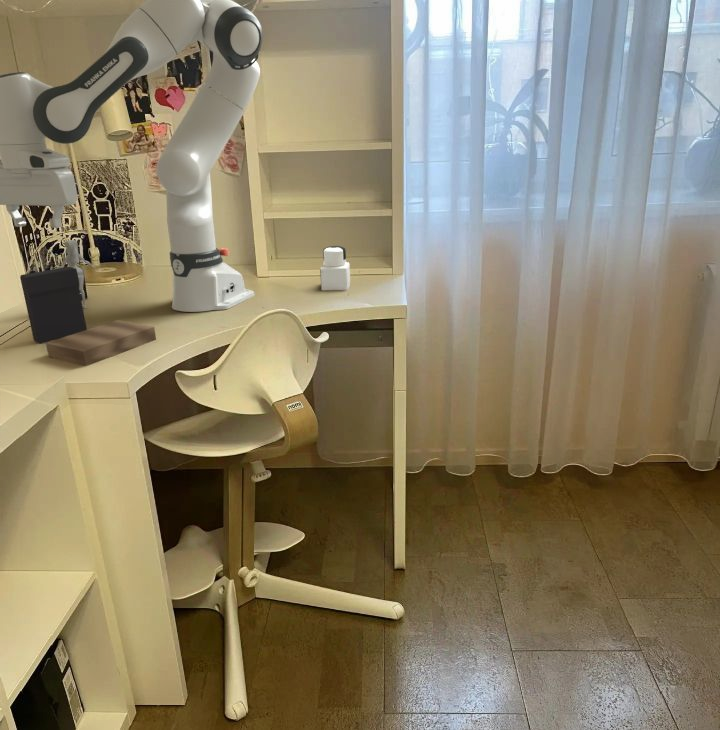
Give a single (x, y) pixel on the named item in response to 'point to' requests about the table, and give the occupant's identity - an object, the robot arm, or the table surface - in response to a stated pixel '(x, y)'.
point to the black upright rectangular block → (53, 303)
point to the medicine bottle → (335, 269)
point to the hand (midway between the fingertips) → (38, 226)
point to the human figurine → (75, 264)
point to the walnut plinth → (100, 342)
